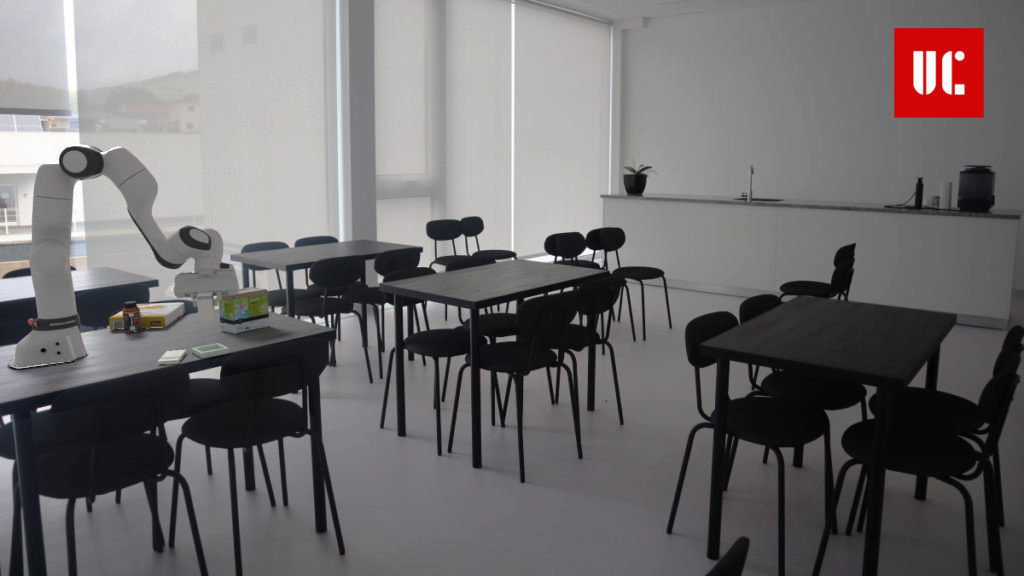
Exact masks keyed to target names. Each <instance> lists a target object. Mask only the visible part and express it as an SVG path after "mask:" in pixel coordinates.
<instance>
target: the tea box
mask: <svg viewBox="0 0 1024 576" xmlns="http://www.w3.org/2000/svg"><path fill="white" fill-rule="evenodd" d="M268 293H269V292H268V289H266V288H261V287H256V286H249V287H243V288H239V293H238V294H237V295H224V296H222V298H221V300H220V301H219V302H218V313H219V325H220V326H219V327H220V331H222V332H226V333H229V334H230V333H231V334H233V335H234V334H235V335H236V334H239V333H243V332H247V331H253V330H257V329H264V328H268V326H269V327H270V314H269V313H270V312H269V297H268V295H269V294H268Z"/></svg>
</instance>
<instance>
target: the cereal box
mask: <svg viewBox="0 0 1024 576" xmlns="http://www.w3.org/2000/svg"><path fill="white" fill-rule="evenodd" d="M136 304H137V307H139V308H140V316H141V325H142V328H151V327H165V326H167V325H168V324H169V323H171V322H172V321H173V320H174V319H175V318H177V317H179V316H180V317H181V316H183V315H185V303H184V302H162V303H136ZM180 317H179V318H180ZM108 320H109V330H111V331H113V330H112V329H119V328H120V329H121V328H124V322H123V312H122V310H121V311H118V312H117V313H116V314H114V315H112V316H110V317H108ZM172 323H173V322H172ZM172 323H171V324H172ZM168 326H169V325H168ZM168 326H167V327H168Z"/></svg>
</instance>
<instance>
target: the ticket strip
mask: <svg viewBox="0 0 1024 576" xmlns="http://www.w3.org/2000/svg"><path fill="white" fill-rule="evenodd" d="M184 355H185V356H186V355H187V349H185V348H182V349H178V348H177V349H174V350H172V349H169V350H167V351H166V352H164V353H163V355H162V356H161V357H160V358H159V359H158V360H157V365H158V366H161V365H160V364H166V365H175V364H176V365H177V364H180V362H181V361H182V360H183V358H184V357H185V356H184ZM183 356H184V357H183ZM180 360H181V361H180Z"/></svg>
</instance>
